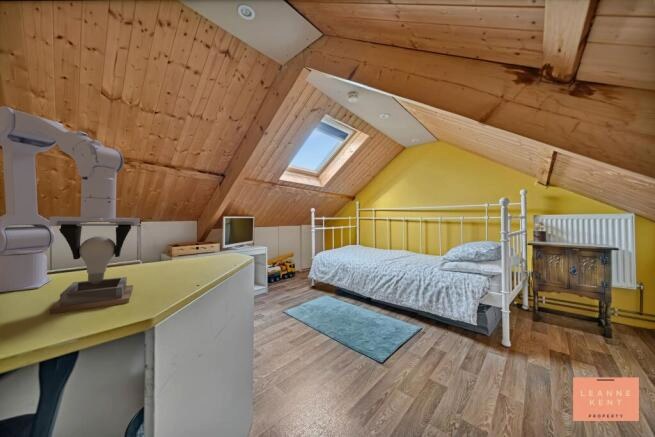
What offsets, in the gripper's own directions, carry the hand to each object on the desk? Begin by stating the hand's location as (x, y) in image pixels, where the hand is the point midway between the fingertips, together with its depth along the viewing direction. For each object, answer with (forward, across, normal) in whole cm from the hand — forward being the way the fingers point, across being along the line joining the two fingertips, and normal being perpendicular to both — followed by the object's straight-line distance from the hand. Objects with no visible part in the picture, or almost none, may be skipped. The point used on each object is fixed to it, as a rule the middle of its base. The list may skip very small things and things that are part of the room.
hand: (98, 257), depth 54 cm
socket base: (+10, 0, 0) cm, 10 cm away
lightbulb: (+6, 0, 0) cm, 6 cm away
